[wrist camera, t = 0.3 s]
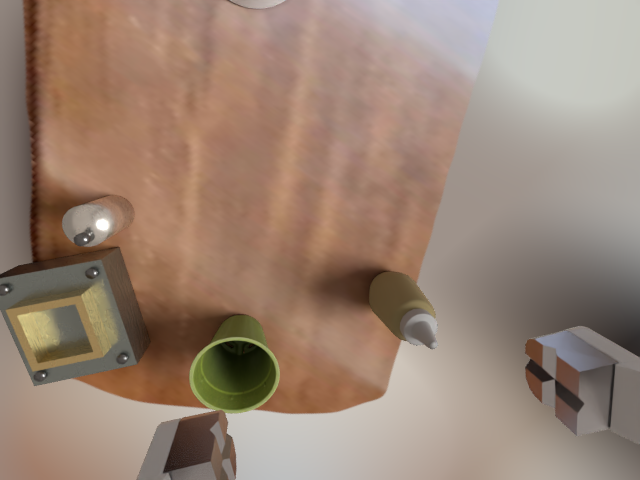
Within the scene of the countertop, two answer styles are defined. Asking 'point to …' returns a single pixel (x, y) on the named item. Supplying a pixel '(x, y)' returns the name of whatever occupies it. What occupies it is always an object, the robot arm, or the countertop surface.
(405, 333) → the squeeze bottle
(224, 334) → the plant pot
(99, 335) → the grey square housing block
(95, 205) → the spout can
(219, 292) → the countertop surface
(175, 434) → the robot arm
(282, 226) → the countertop surface
